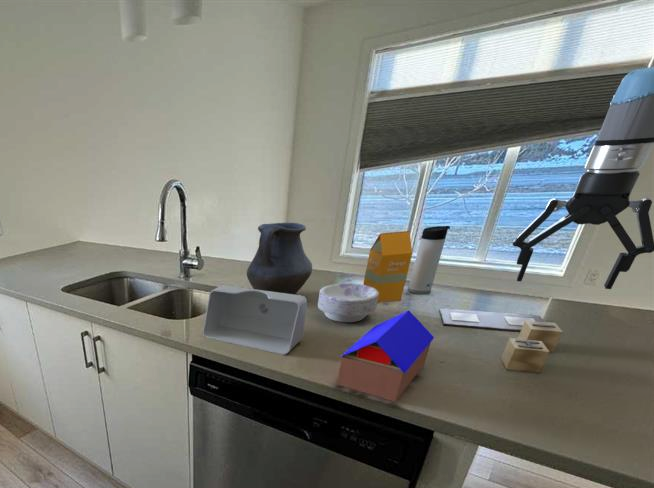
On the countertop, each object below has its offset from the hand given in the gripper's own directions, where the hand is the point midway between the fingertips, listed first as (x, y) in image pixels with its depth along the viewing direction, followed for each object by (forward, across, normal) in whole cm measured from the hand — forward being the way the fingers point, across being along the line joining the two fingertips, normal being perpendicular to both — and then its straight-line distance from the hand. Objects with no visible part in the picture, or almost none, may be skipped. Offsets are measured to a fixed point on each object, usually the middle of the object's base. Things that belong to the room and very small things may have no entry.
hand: (561, 283), depth 85 cm
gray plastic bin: (+15, -58, -23) cm, 64 cm away
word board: (+15, -8, +14) cm, 22 cm away
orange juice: (+15, -37, +22) cm, 46 cm away
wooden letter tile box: (+15, 0, +2) cm, 15 cm away
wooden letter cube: (+15, -2, -11) cm, 19 cm away
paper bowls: (+15, -41, +1) cm, 44 cm away
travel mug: (+15, -28, +33) cm, 46 cm away
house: (+15, -25, -29) cm, 41 cm away
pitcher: (+15, -65, +7) cm, 67 cm away
